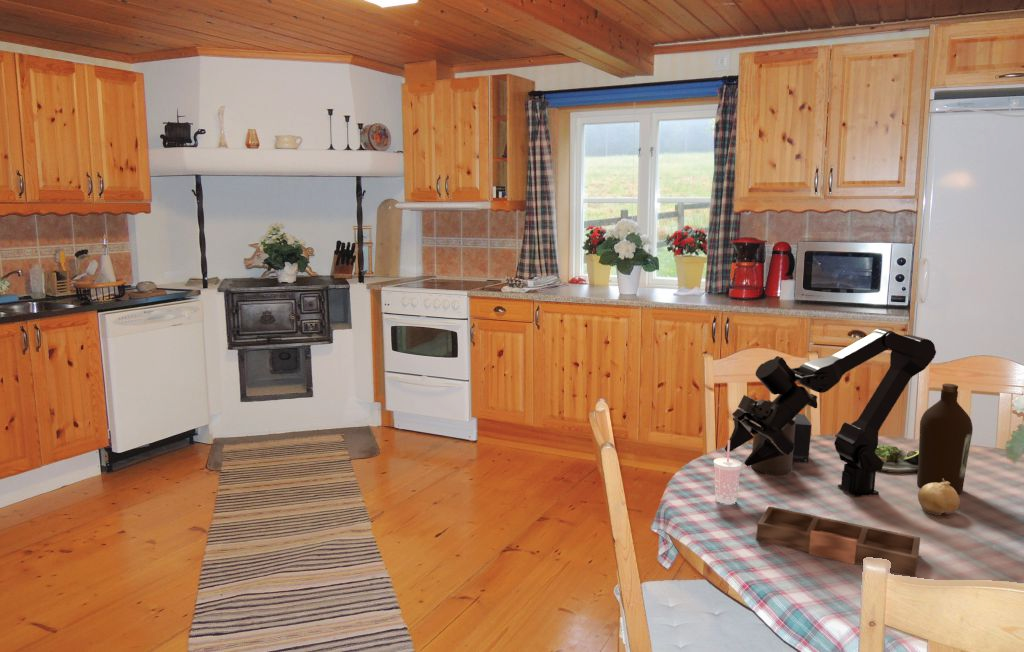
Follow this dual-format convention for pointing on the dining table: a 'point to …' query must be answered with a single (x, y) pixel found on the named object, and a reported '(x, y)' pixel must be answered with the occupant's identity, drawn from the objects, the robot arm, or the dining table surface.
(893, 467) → the salad plate
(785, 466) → the pillar candle
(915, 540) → the wooden compartment tray
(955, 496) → the onion
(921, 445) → the olive oil
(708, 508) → the dining table surface
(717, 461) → the beverage cup
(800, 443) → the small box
